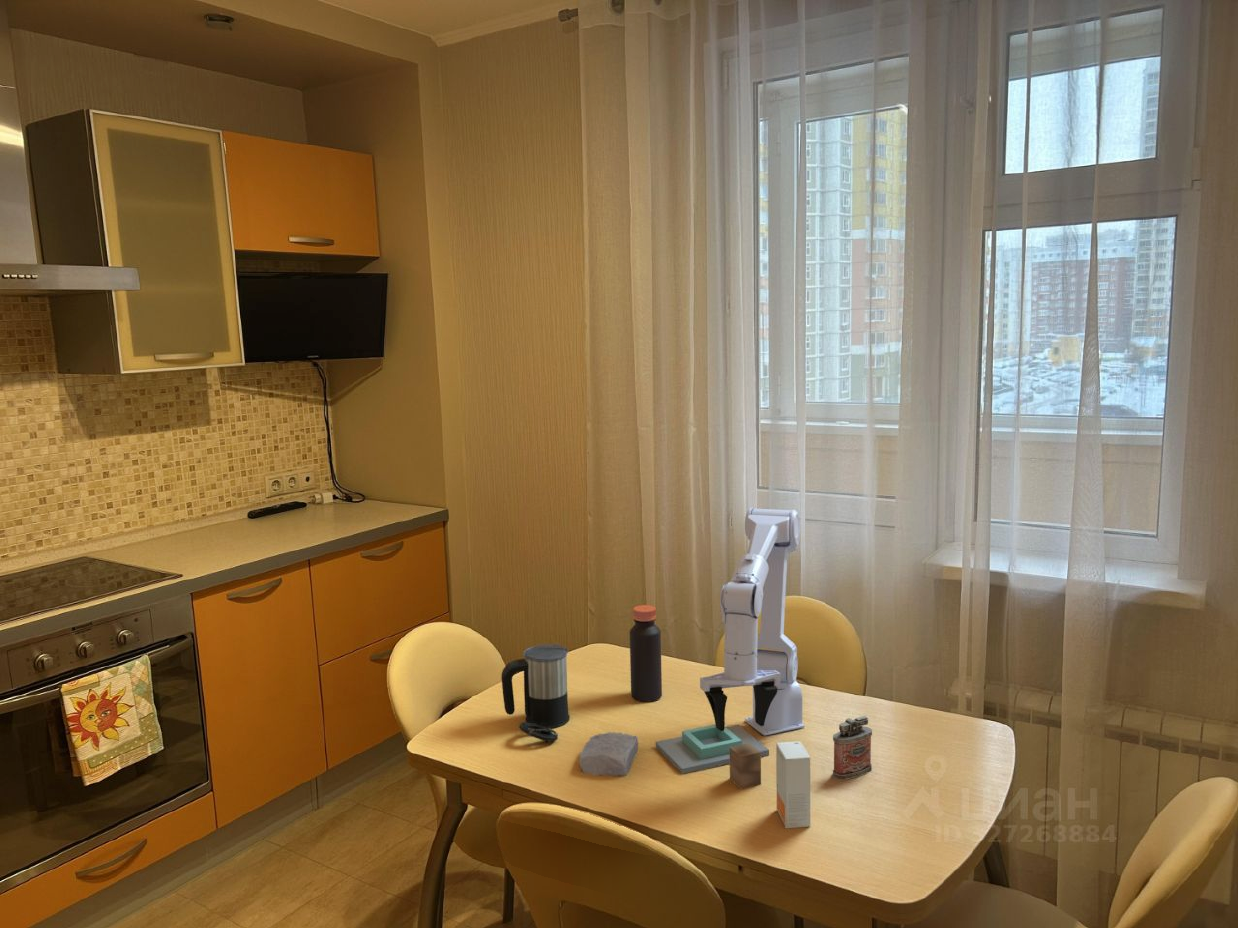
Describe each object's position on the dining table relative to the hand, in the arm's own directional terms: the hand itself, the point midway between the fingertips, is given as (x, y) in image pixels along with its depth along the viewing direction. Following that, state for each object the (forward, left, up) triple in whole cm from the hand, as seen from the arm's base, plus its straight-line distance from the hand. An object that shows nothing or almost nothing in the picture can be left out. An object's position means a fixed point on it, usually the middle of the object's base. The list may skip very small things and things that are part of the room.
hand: (739, 726), depth 161 cm
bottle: (0, -41, -10) cm, 43 cm away
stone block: (+19, -17, -11) cm, 27 cm away
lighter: (-20, +6, -10) cm, 23 cm away
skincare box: (-2, +15, -10) cm, 18 cm away
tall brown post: (-1, +1, -10) cm, 10 cm away
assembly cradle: (-1, -12, -10) cm, 16 cm away
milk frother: (+25, -35, -10) cm, 45 cm away
